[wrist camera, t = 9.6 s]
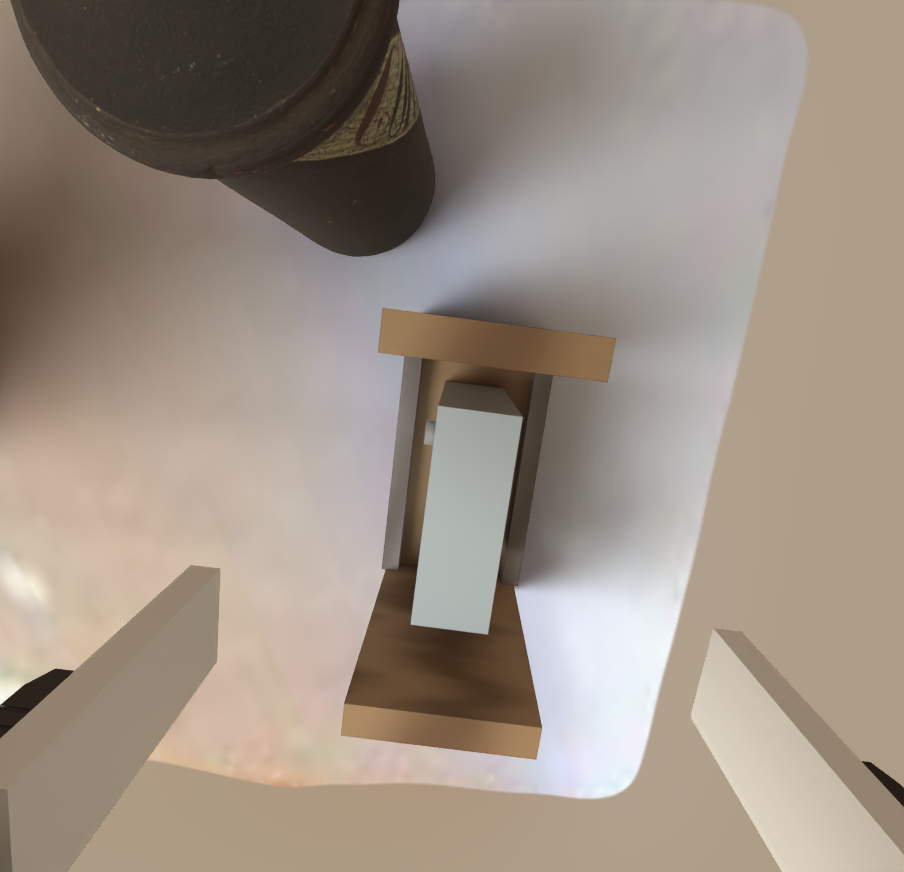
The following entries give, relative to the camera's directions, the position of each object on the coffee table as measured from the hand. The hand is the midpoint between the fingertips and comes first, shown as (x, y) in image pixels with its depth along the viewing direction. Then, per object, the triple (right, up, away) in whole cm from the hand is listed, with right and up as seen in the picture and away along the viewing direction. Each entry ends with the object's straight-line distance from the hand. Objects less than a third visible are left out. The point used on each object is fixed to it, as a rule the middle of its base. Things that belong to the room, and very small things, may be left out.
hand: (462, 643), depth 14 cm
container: (-6, +20, +16) cm, 26 cm away
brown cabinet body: (0, +4, +19) cm, 20 cm away
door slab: (0, +4, +18) cm, 19 cm away
